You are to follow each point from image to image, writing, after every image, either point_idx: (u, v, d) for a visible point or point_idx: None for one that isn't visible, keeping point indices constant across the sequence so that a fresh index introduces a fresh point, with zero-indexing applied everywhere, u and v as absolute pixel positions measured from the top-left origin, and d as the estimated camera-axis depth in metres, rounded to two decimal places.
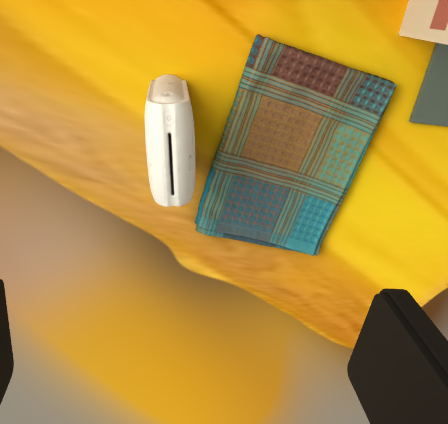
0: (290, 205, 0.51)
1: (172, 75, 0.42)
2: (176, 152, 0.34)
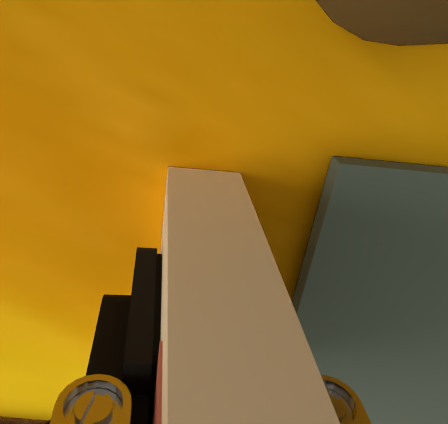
0: None
1: None
2: None
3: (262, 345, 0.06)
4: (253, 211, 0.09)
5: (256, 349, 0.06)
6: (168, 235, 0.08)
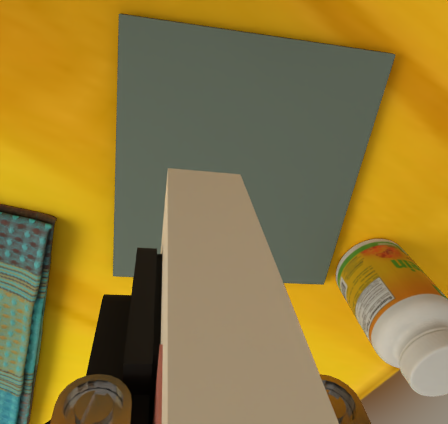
0: None
1: None
2: None
3: (262, 349, 0.06)
4: (253, 213, 0.09)
5: (256, 353, 0.06)
6: (168, 237, 0.08)
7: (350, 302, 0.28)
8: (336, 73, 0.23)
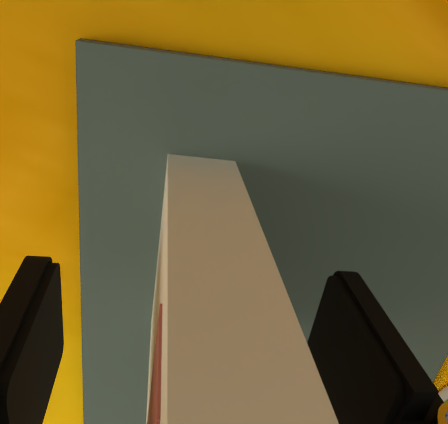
0: None
1: None
2: None
3: (250, 301, 0.07)
4: (246, 194, 0.10)
5: (244, 304, 0.07)
6: (168, 212, 0.09)
7: None
8: None
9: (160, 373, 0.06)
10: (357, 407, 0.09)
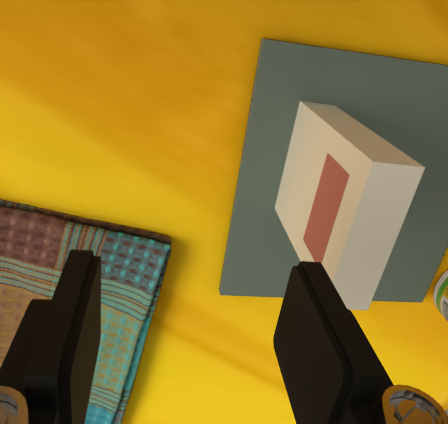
0: None
1: None
2: None
3: (374, 141, 0.17)
4: (350, 116, 0.20)
5: (373, 142, 0.17)
6: (321, 119, 0.19)
7: None
8: None
9: (342, 167, 0.16)
10: (313, 393, 0.09)
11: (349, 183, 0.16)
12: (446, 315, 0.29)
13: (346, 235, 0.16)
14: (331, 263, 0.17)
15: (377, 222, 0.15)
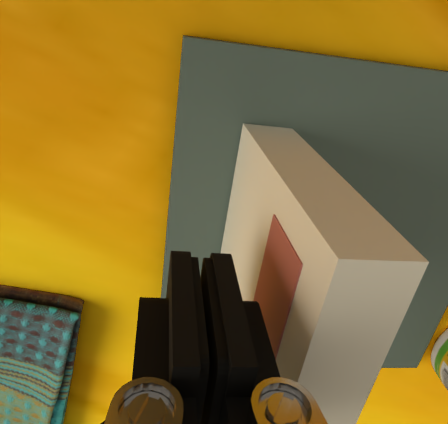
0: None
1: None
2: None
3: (344, 201, 0.10)
4: (311, 148, 0.14)
5: (341, 202, 0.10)
6: (266, 157, 0.13)
7: None
8: None
9: (292, 245, 0.10)
10: None
11: (303, 279, 0.09)
12: (447, 386, 0.23)
13: (299, 365, 0.09)
14: None
15: (350, 346, 0.09)
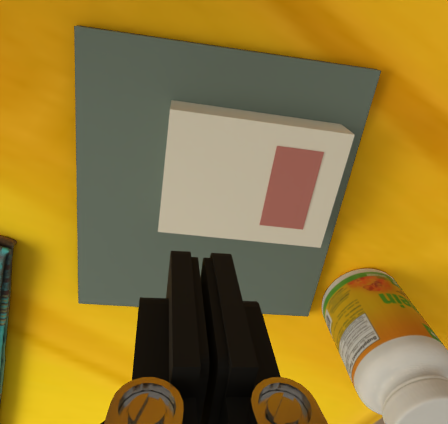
0: None
1: None
2: None
3: (297, 120, 0.21)
4: None
5: (299, 121, 0.21)
6: (245, 120, 0.19)
7: (334, 338, 0.26)
8: (315, 90, 0.21)
9: (309, 149, 0.20)
10: None
11: (326, 157, 0.21)
12: None
13: (335, 190, 0.21)
14: (320, 216, 0.22)
15: None
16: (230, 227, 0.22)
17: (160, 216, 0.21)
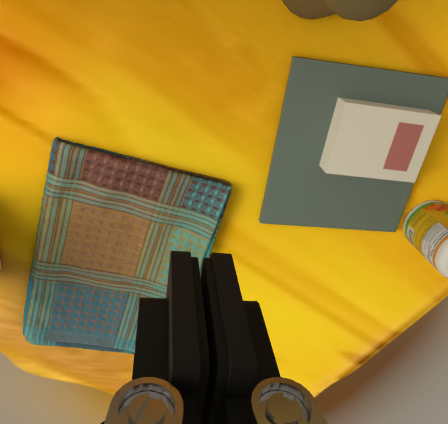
0: (132, 310, 0.45)
1: None
2: None
3: (407, 108, 0.37)
4: None
5: (408, 108, 0.37)
6: (384, 107, 0.35)
7: (416, 241, 0.42)
8: (416, 90, 0.37)
9: (416, 124, 0.36)
10: None
11: (425, 128, 0.37)
12: (411, 239, 0.43)
13: (427, 148, 0.38)
14: (417, 163, 0.38)
15: None
16: (366, 170, 0.38)
17: (329, 163, 0.37)
